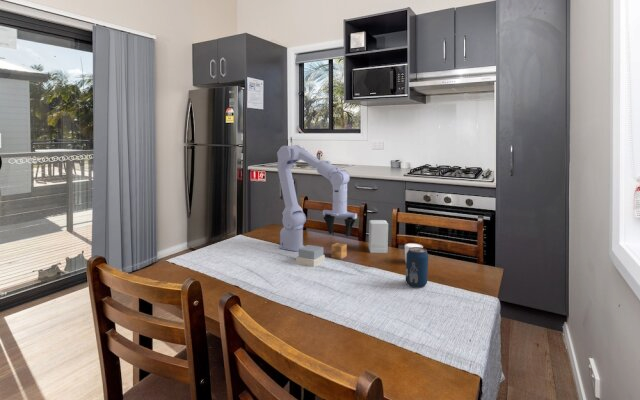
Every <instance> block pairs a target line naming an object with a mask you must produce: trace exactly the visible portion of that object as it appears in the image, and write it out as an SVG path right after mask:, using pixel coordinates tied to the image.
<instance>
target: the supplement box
mask: <svg viewBox="0 0 640 400" xmlns="http://www.w3.org/2000/svg"><path fill="white" fill-rule="evenodd" d="M388 239H389V223H388V221H387V220H384V219H371V220H369V221H368V246H367V247H368V251H369V253H370V254H388V247H389V246H388V244H389V240H388Z"/></svg>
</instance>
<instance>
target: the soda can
mask: <svg viewBox="0 0 640 400" xmlns="http://www.w3.org/2000/svg"><path fill="white" fill-rule="evenodd" d="M428 271H429V253H428V250H427V248H424V247H423V248H421V247H411V248H409V251H408V252H407V258H406V263H405V282H406V284H407V285H408V286H409V287H410V288H414V289H415V288H416V289H420V288H422V289H423V288H425V286H426V285H427V284H428V273H429V272H428Z"/></svg>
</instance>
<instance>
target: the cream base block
mask: <svg viewBox="0 0 640 400" xmlns="http://www.w3.org/2000/svg"><path fill="white" fill-rule="evenodd" d="M325 255H326V254H323V255H322V256H320V257H318V258H316V259H309V258H303V257H299V255H297V256H295V264H298V265H302V266H308V267H312V268H314V267H315V268H316V267H317V266H318V265H320V264H323V263H324V262H325V261H326V257H325Z"/></svg>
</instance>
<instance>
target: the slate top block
mask: <svg viewBox="0 0 640 400" xmlns="http://www.w3.org/2000/svg"><path fill="white" fill-rule="evenodd" d="M322 255H324V246H318V245H314V244H313V245H312V244H307V245H304V247H302V248H300V249H299V251H298V256H299V257H303V258H309V259H316V258H318V257H320V256H322Z"/></svg>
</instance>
